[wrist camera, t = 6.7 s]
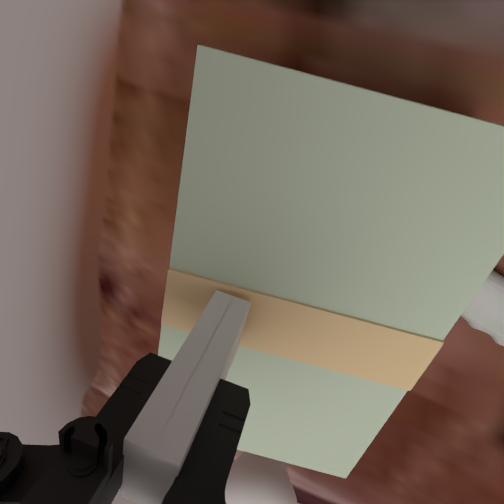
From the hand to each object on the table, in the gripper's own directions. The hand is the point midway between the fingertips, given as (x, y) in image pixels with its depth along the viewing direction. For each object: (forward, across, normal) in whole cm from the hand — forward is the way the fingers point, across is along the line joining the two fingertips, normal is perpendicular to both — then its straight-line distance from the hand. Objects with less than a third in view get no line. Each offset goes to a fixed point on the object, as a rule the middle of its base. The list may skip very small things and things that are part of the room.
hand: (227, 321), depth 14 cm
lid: (+2, +3, 0) cm, 3 cm away
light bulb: (+11, +5, -19) cm, 22 cm away
